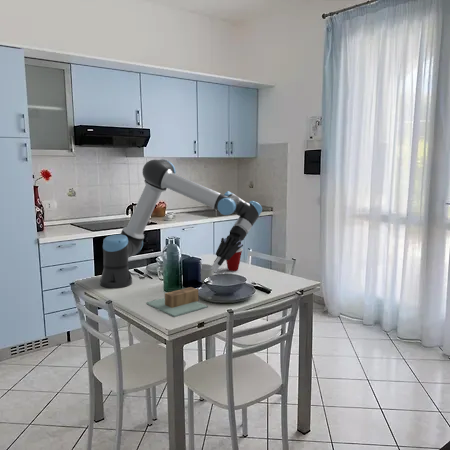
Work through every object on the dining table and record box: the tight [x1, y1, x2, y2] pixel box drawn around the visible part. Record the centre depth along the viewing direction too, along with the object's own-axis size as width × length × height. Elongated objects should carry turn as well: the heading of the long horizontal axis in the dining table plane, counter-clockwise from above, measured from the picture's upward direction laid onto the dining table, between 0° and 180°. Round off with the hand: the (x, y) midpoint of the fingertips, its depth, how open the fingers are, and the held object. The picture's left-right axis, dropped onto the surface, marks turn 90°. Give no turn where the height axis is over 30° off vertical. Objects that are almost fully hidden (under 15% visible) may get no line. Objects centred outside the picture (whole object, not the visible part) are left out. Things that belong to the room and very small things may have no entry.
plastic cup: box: [225, 247, 243, 272], centre depth 236 cm, size 11×11×12 cm
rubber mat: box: [146, 297, 208, 318], centre depth 177 cm, size 20×17×1 cm
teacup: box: [200, 263, 214, 284], centre depth 212 cm, size 14×11×8 cm
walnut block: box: [164, 286, 199, 308], centre depth 179 cm, size 5×5×14 cm
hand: (213, 270), depth 189 cm, fingers closed
